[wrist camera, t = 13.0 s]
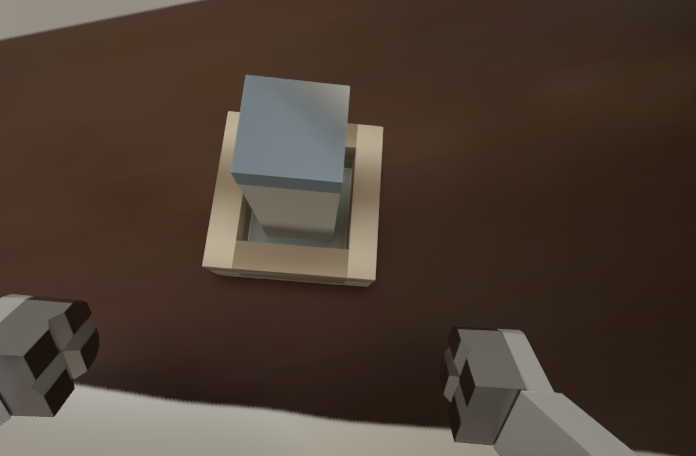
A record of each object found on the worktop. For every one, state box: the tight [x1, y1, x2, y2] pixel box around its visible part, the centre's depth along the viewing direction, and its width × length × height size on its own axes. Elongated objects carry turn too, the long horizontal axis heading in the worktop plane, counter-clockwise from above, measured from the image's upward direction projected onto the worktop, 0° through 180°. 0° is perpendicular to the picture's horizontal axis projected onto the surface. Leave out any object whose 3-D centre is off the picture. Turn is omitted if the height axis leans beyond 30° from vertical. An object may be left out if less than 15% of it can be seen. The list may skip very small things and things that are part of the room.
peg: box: [231, 75, 350, 242], centre depth 19 cm, size 4×4×10 cm
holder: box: [202, 111, 383, 287], centre depth 23 cm, size 9×9×4 cm
